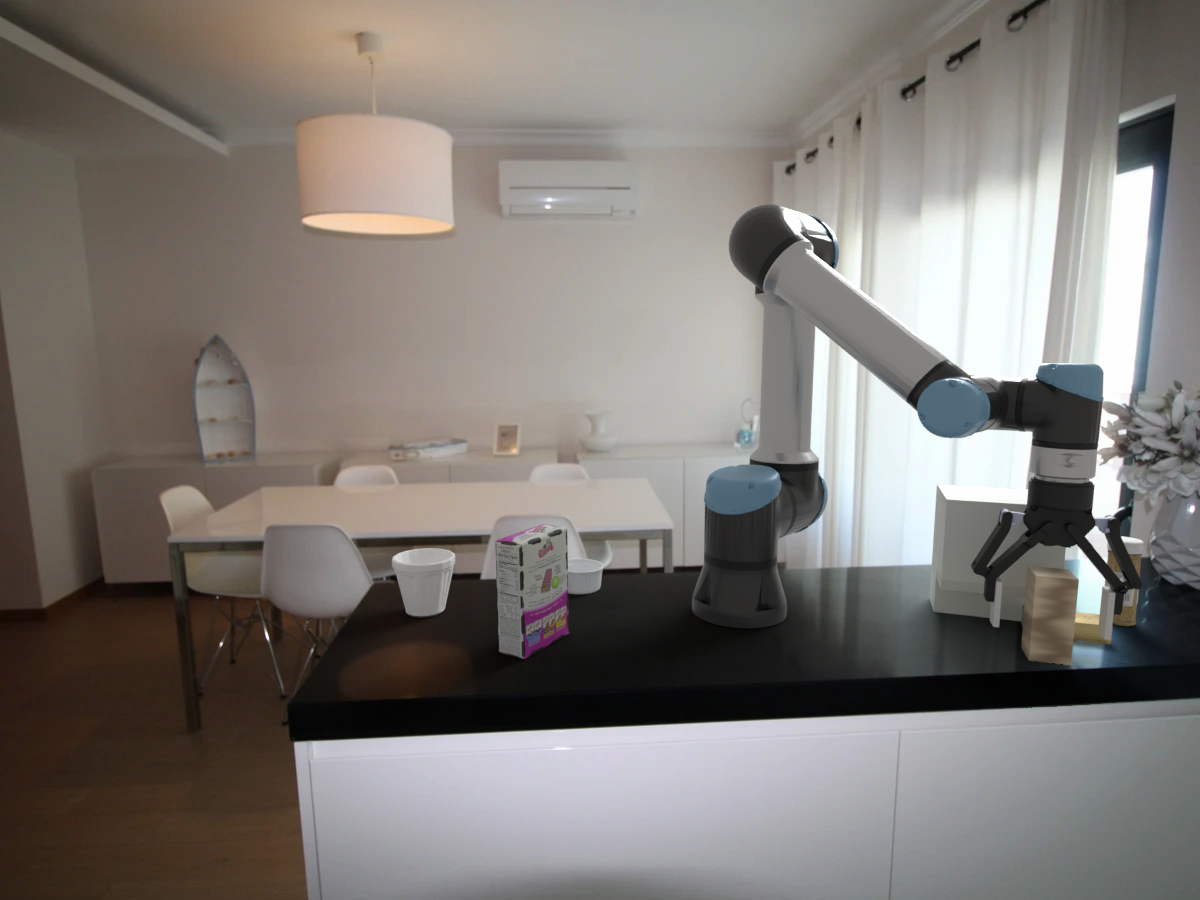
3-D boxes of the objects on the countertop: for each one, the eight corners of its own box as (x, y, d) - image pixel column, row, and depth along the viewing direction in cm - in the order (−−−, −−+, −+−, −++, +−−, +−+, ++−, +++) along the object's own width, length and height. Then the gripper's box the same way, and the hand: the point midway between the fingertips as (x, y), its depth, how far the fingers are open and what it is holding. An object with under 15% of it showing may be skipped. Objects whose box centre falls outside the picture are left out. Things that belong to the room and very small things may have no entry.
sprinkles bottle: (1140, 623, 114) (1149, 539, 112) (1128, 629, 111) (1136, 543, 109) (1107, 614, 117) (1115, 533, 116) (1094, 620, 115) (1102, 537, 113)
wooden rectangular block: (1028, 660, 100) (1036, 575, 98) (1007, 622, 114) (1013, 547, 112) (1070, 665, 98) (1078, 579, 96) (1043, 626, 112) (1050, 550, 111)
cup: (381, 612, 117) (379, 556, 116) (433, 597, 125) (432, 544, 123) (416, 627, 111) (414, 569, 109) (469, 611, 118) (468, 555, 117)
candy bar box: (542, 627, 111) (542, 523, 109) (570, 634, 108) (569, 527, 106) (495, 653, 101) (493, 538, 99) (523, 661, 99) (522, 543, 97)
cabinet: (938, 626, 112) (946, 499, 109) (929, 598, 125) (936, 484, 122) (1057, 640, 107) (1069, 507, 104) (1035, 609, 120) (1045, 490, 117)
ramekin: (574, 577, 136) (574, 555, 136) (613, 586, 131) (613, 563, 131) (543, 589, 129) (543, 566, 129) (583, 599, 124) (583, 575, 124)
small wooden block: (1070, 641, 107) (1072, 622, 107) (1061, 629, 112) (1063, 610, 111) (1110, 646, 105) (1112, 626, 105) (1099, 633, 110) (1101, 614, 110)
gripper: (963, 476, 98) (953, 627, 101) (1183, 488, 90) (1165, 652, 93) (956, 468, 105) (946, 610, 108) (1160, 479, 97) (1144, 631, 100)
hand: (1048, 630), depth 101 cm, fingers open, 13 cm apart
